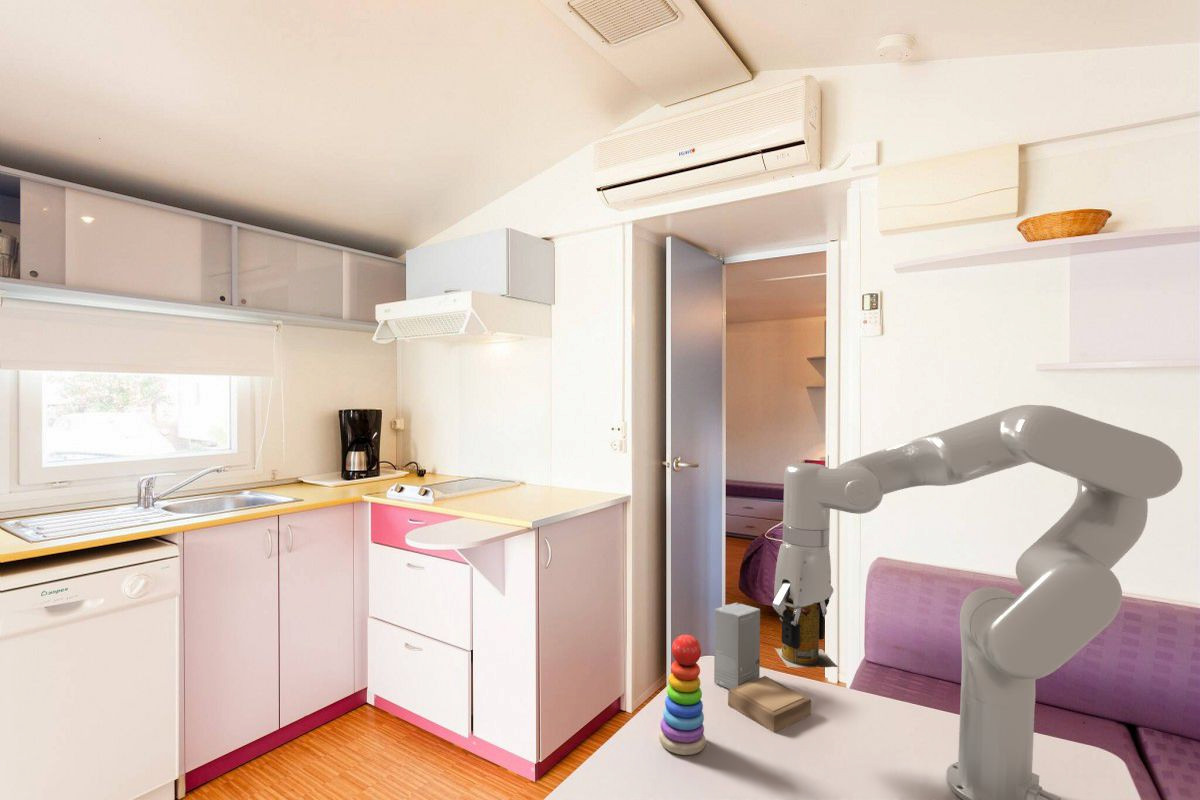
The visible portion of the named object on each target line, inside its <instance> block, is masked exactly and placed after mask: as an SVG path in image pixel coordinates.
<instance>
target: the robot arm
mask: <svg viewBox="0 0 1200 800" xmlns="http://www.w3.org/2000/svg"><path fill="white" fill-rule="evenodd" d="M1027 463H1028V464H1029V463H1034V464H1037V465H1039V466H1041V467H1045V468H1047V469H1049V470H1053V471H1054V472H1057V473H1060V474H1063V475H1065V476H1067V477H1071V478H1074V479H1076V480H1077V493H1076V497H1075V499H1074V501H1073V503H1072V505H1071V506H1070V508H1068V510H1067V511H1066V512H1065V513H1064V514H1063V515H1062V516H1061V517H1060V518H1059V519H1058V520H1057V521H1056V522H1055V523H1054V524H1053V525H1052V526H1051V527H1049V529H1048V530H1047V531H1046V532H1045V533H1043V535H1041V536H1040V537H1039V538H1038V539H1037V540H1036V541H1035V542H1034V543H1033V544H1031V545H1030V546H1029V547H1028V548H1027V549H1026V550H1025V551H1023V553H1021V555H1020V556H1019V558H1018V559H1017V562H1016V565H1015V574H1016V577H1017V578H1016V579H1017V581H1018V582H1019V583H1020V585H1021V586H1022V588H1023V589H1024V590H1023V591H1022V592H1021V593H1020V594H1019V595H1016V594H1015V593H1013V592H1011V591H1009V590H1007V589H1004V588H1000V587H996V586H986V587H985V586H984V587H980V588H978V589H975V590H973V591H972V592H970V593H969V594H968V595H967V596H966V597H965V599H964V601H963V602H962V605H961V607H960V614H959V630H960V631H959V632H960V633H959V634H960V643H961V644H960V645H961V648H960V650H961V681H960V682H961V684H960V700H959V701H960V703H959V706H960V707H959V708H960V709H959V729H958V730H959V733H958V756H957V757H958V759H957V760H958V761H957V762H955V763H952V764H950V765H949V766H947V769H946V777H945V778H946V782H947V785H948V786H949V788H950V789H951V790H952V791H953V793H954V794H956V795H957V797H959V798H960V799H961V800H1062V797H1061V796H1058V795H1056V794H1055V793H1053V792H1049V791H1047V790H1045V789H1043V787H1042V786H1041V785H1039V784H1040V775H1038V774H1036V773H1034V772H1033V759H1034V758H1033V757H1034V755H1033V753H1034V731H1035V726H1034V725H1035V705H1036V680H1039V679H1042V678H1044V677H1046V676H1048V675H1050V674H1052V673H1054V672H1056V670H1058V669H1059V668H1061V667H1062V666H1063V665H1064V664H1066V662H1068V661H1069V660H1070V659H1071V658H1073V657H1074V656H1075V655H1076V654H1077V653H1078V652H1080V651H1081V650H1082V649H1083V648H1084V647H1085V646H1086V645H1088V644H1089V643H1090V642H1092V640H1093V639H1095V638H1096V637H1097V636H1098V635H1099V634H1101V633H1102V632H1103V630H1105V629H1106V628H1107V627H1108V626H1109V625H1110V624H1111V623H1112V622H1113V620H1114V619H1115V618H1116V616H1117V614H1118V613H1119V610H1120V609H1121V605H1122V601H1123V590H1122V586H1121V583H1120V581H1119V579H1118V578H1117V576H1116V574H1115V573H1114V572H1113V571H1112V570H1111V569H1112V568H1113V567H1115V565H1116V564H1117V563H1118V562H1119V561H1120V560H1121V559H1122V558H1123V557H1124V556H1126V554H1127V553H1128V552H1129V551H1130V550H1131V549H1132V548H1133V547H1134V546H1135V545H1136V543H1137V542H1138V541H1139V540H1140V538H1141V537H1142V534H1143V533H1144V530H1145V528H1146V525H1147V520H1148V513H1149V512H1148V511H1149V509H1148V507H1149V505H1148V500H1150V499H1155V498H1159V497H1162V496H1164V495H1166V494H1168V493H1171V492H1172V491H1173V490H1174V489H1175V488H1176V487H1177V486H1178V484H1179V483H1180V481H1181V479H1182V476H1183V468H1184V467H1183V464H1182V461H1181V458H1180V457H1179V456H1178V454H1177V452H1176V451H1175V450H1174V449H1173V448H1171V447H1170V445H1168V444H1167V443H1164V442H1163V441H1161V440H1160V439H1157V438H1155V437H1152V436H1148V435H1147V434H1142V433H1139V432H1137V431H1132V430H1129V429H1126V428H1123V427H1120V426H1117V425H1114V424H1110V423H1107V422H1103V421H1100V420H1097V419H1094V418H1092V417H1088V416H1085V415H1082V414H1080V413H1076V412H1073V411H1072V410H1071V411H1070V410H1067V409H1064V408H1061V407H1056V406H1054V405H1046V404H1045V405H1039V404H1024V405H1023V404H1022V405H1018V406H1013V407H1010V408H1006V409H1004V410H1001V411H998V412H994V413H991V414H990V415H989V414H988V415H986V416H982V417H980V418H977V419H973V420H972V421H968V422H965V423H963V424H959V425H957V426H954V427H950V428H948V429H947V428H946V429H944V430H941V431H938V432H935V433H932V434H928V435H924V436H921V437H919V438H916V439H913V440H911V441H907V442H904V443H901V444H898V445H893V446H890V447H887V448H884V449H880V450H877V451H874V452H871V453H869V454H865V455H863V456H860V457H856V458H854V459H851V460H847V461H845V462H843V463H841V464H839V465H838V466H837V467H836V468H828V466H826V465H823V464H818V463H813V462H812V463H810V462H795V463H794V462H793V463H790V464H788V465H787V466H786V467H785V470H784V473H783V474H784V476H783V505H782V506H783V515H782V543H780V547H779V549H778V554H777V560H776V566H775V568H776V569H775V573H774V574H775V575H774V576H775V577H774V590H773V595H774V600H773V602H772V604H771V605H772V607H773V610H775V611H776V614H777V616H778V617H779V620H780V621H781V644H782V643H783V644H785V645H787V646H790V647H792V648H794V649H798V648H800V625H799V624H797V623H798V620H799V616H800V612H801V608H802V607H806V606H809V605H811V604H813V603H815V602H816V603H817V605H818V606H819V609H820V610H819V641H822V640H824V639H825V619H826V618H825V616H826V615H827V613H828V610H827V607H828V605H829V603H830V599H831V598H832V595H833V593H834V588H833V585H832V567H831V565H832V564H831V554H830V531H831V530H830V527H831V526H830V525H831V519H830V518H831V510H835V511H840V512H843V513H844V512H845V513H849V514H854V515H855V514H856V515H857V514H858V515H861V514H868V513H870V512H872V511H874V510H875V509H877V508H878V506H879V505H880V504H881V502H882V500H883V497H884V495H888V494H890V493H893V492H897V491H900V490H905V489H908V488H914V487H915V488H916V487H922V486H923V487H924V486H931V487H933V486H935V487H937V486H938V487H940V486H941V487H944V486H946V487H947V486H954V485H958V484H963V483H967V482H969V481H973V480H975V479H979V478H981V477H985V476H987V475H991V474H994V473H998V472H1000V471H1004V470H1007V469H1011V468H1014V467H1018V466H1022V465H1024V464H1027ZM790 600H793V604H791V603H790V602H789V601H790ZM789 607H792V608H794V611H793V615H792V614H791V613H790V611H789Z"/></svg>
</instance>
